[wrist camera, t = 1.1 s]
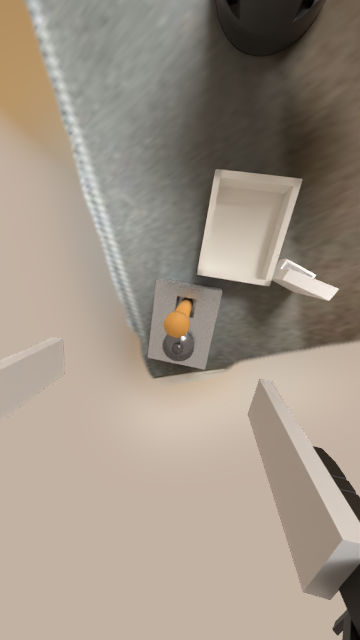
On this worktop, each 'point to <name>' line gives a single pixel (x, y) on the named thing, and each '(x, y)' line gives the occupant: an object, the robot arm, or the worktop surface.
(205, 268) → the tray
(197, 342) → the block
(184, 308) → the lock pin
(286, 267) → the white wedge bracket
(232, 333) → the worktop surface
